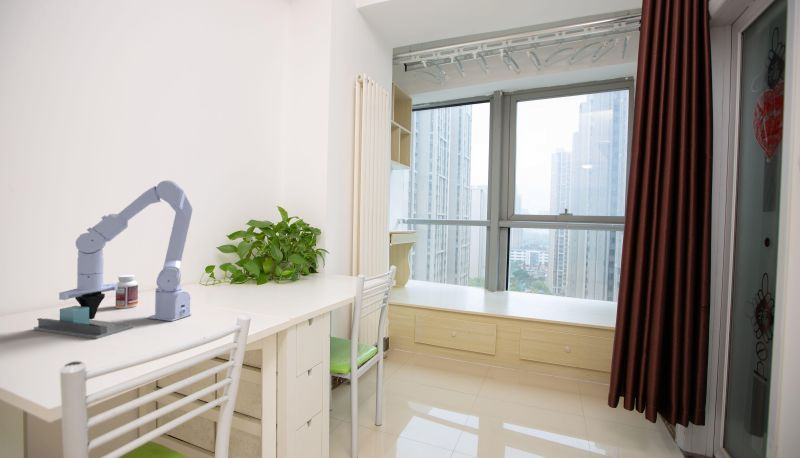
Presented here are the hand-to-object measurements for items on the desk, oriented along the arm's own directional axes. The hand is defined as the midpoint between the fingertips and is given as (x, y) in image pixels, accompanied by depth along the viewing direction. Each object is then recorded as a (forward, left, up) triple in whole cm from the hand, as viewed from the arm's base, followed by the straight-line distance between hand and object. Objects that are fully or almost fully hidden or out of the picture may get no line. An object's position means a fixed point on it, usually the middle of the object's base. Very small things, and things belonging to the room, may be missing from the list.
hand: (90, 318), depth 102 cm
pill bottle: (+9, -18, -2) cm, 21 cm away
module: (0, +4, -1) cm, 4 cm away
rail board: (-3, +4, -2) cm, 5 cm away
